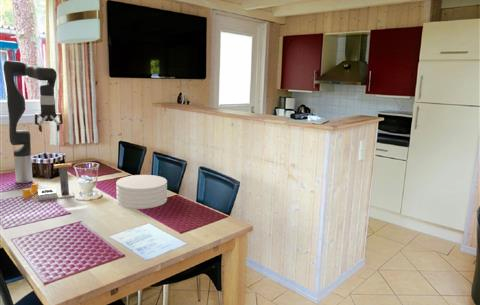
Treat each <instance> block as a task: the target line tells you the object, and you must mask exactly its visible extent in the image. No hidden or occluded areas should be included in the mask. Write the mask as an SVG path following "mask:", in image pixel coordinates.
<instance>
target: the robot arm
mask: <svg viewBox="0 0 480 305" xmlns="http://www.w3.org/2000/svg"><path fill="white" fill-rule="evenodd" d="M2 66H3V75H4V79H5V87H6V98H7V99H6V100H7V101H6V102H7V109H8V111H7V112H8V118H9V119H8V122H9V126H8V127H9V130H8V131H9V132H8V133H9V134H8V135H9V136H8V137H9V142H10V144H11V145H12V146H21V147H20V148H18V149H16V150H14V151H13V159H14V160H13V161H14V162H13V163H14V172H15V182H16V183H18V184H25V183H31V182H33V165H32V149H31V148H32V147H31V133H30V131H29V130H28V129H18V130H17V126H18V123H19V121H20V119H21V118H22V117H23V114H24V113H25V111H26V100H25V97H24V95H23V93H22V92H21V91H20V89H19V88H18V87H17V85H16V82H15V77H18V78H20V77H26V76H28V77H29V78H31V79H36V80H38V81H46V83H45V84H41V85H40V86H39V92H40V94H39V96H40V99H39V101H40V102H39V104H40V113H35V114H34V124H35V125H37V126H38V131H39V132H40V133H42V132H43V126H42V125H43V123H44V122H55V124H56V132H57V133H58V132H59V131H60V130H61V129H60V128H61V127H60V126H61V125H63V124H64V121H63V115H62V113H61V112H60V113H57V111H56V98H55V85H56V81H57V75H58V74H57V71H56V70H55V69H54V68H53V67H41V66H39V65H37V66H36V65H31V64H27V63H25V62H23V61H19V60H5V61H4V62H3V65H2ZM40 117H41V120H40V121H39V122H38V118H40ZM57 117H58V118H59V122H58V120H57V119H56V118H57Z"/></svg>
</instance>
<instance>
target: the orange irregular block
mask: <svg viewBox="0 0 480 305" xmlns="http://www.w3.org/2000/svg"><path fill="white" fill-rule="evenodd" d="M30 187H31V188H24V189H22V198H23V199H30V198H32V196H35V195H36V194H38V190H39V184H38V183H31V186H30Z"/></svg>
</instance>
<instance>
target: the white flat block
mask: <svg viewBox="0 0 480 305" xmlns="http://www.w3.org/2000/svg"><path fill="white" fill-rule="evenodd" d="M57 193H58V192H57V190H56V188H55V187H54V188H46V189H38V192H37V196H38V198H39V201H40V202H43V201H42V200H49V201H52V200H51V199H57ZM57 200H58V199H57Z"/></svg>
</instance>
